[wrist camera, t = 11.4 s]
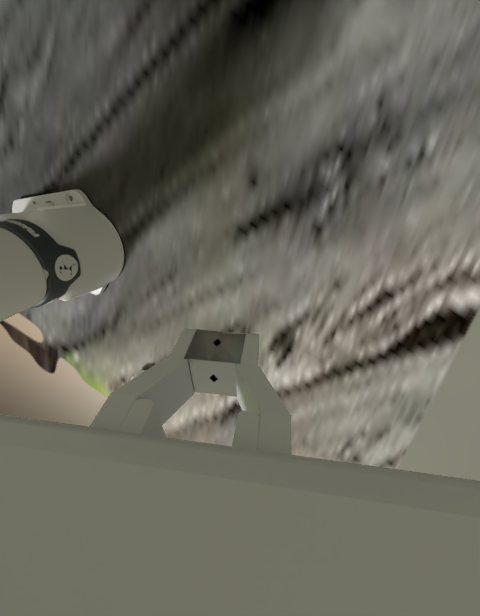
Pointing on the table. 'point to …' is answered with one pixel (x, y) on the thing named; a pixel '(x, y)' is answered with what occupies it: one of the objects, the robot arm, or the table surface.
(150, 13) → the table surface
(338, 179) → the table surface
